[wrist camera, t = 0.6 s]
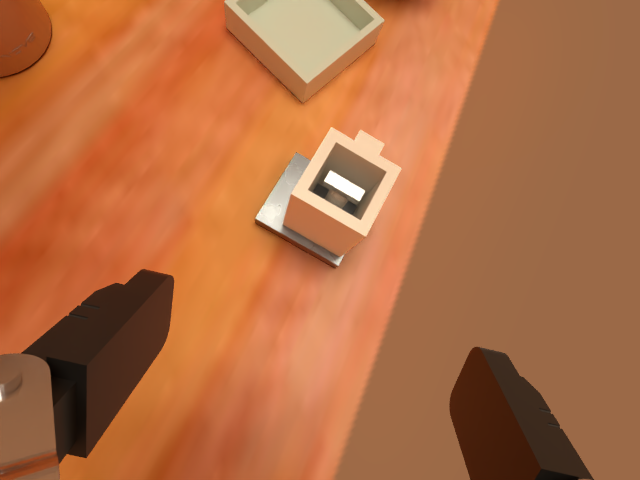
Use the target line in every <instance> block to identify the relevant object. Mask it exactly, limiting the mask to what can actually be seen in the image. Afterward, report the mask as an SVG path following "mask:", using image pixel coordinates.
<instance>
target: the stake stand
mask: <svg viewBox="0 0 640 480" xmlns="http://www.w3.org/2000/svg"><path fill="white" fill-rule="evenodd" d="M310 161H311V160H309V159H307V158H305V157H304V156H302V155H300V154H298V153H297V152H296V153H295V155H294V157H293V158H292V160H291V162H290V163H289V165H288V166H287V168H286V170H285V171H284V173H283V174H282V176H281V178H280V179H279V181H278V182H277V184H276V186H275V187H274V189H273V191H272V192H271V194H270V195H269V197H268V199H267V200H266V202H265V203H264V205H263V207H262V208H261V210H260V211H259V213H258V215H257V216H256V218H255V223H257V224H258V225H260V226H262V227H264V228H265V229H267V230H269V231H271V232H272V233H274V234H276V235H278V236H279V237H281V238H283V239H285V240H286V241H288V242H290V243H292V244H293V245H295V246H297V247H299V248H300V249H302V250H304V251H306V252H307V253H309V254H311V255H313V256H314V257H316V258H318V259H320V260H321V261H323V262H325V263H327V264H328V265H330V266H332V267H334V268H336V267H337V266H339V264H340V262H341V260H342V258H343V256H344V255H343V256H341V257H339V256H337V255H335V254H334V253H332V252H330V251H328V250H327V249H325V248H323V247H321V246H320V245H318V244H316V243H314V242H313V241H311V240H309V239H307V238H306V237H304V236H302V235H300V234H299V233H297V232H295V231H293V230H292V229H290V228H288V227H286V226H285V225H283V221H284V217H285V214H286V210H287V206H288V203H289V199H290V195H291V193H292V191H293V190H294V188H295V186H296V185H297V183H298V181H299V180H300V178H301V176H302V175H303V173H304V171H305V170H306V168H307V166H308V165H309V163H310ZM322 185H323V186H322ZM322 185H320V184H319V183H318V184H317V185H316V187H315V189H314V190H313V192H312V193H314V194H316V195H317V196H319V197H321V198H323V199H324V200H326V201H328V202H330V203H331V204H333V205H335V206H337V207H338V208H340V209H342V210H343V211H345V212H347V213H349V214H350V215H353V213H354V212H355V210H356V208H357V204H358V202H359V201H360V199H361V197H362V196H363V194H364V192H365V190H363V189H362V188H360V187H358V186H356V185H355V184H353V183H351V182H349V181H348V180H346V179H344V178H343V177H341V176H339V175H337V174H336V173H334V172H332V171H331V170H330V172H329V173H328V175H327V177H326V179H325V180H324V182H323V184H322ZM324 186H325V187H324ZM326 187H327V188H329V189H330V190H329V189H327V188H326ZM348 200H349V201H348ZM350 201H351V202H353V203H355V204H356V205H355V204H353V203H351V202H350Z"/></svg>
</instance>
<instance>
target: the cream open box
mask: <svg viewBox="0 0 640 480" xmlns="http://www.w3.org/2000/svg"><path fill="white" fill-rule="evenodd" d="M384 145H385V144H384V143H382V142H381V141H379V140H377V139H376V138H374V137H372V136H370V135H369V134H367V133H365V132H364V131H362V130H360V131H359V133H358V135H357V136H356V138H355V140H353V139H351V138H349V137H348V136H346V135H344V134H342V133H341V132H339V131H337V130H336V129H334V128H332V127H331V128H330V130H329V132H328V133H327V135H326V137H325V138H324V140H323V142H322V143H321V145H320V146H319V148H318V150H317V151H316V153H315V155H314V156H313V158H312V160H311V161H310V163H309V165H308V166H307V168H306V170H305V171H304V173H303V175H302V176H301V178H300V180H299V181H298V183H297V185H296V186H295V188H294V190H293V191H292V193H291V195H290V199H289V203H288V206H287V210H286V214H285V217H284V221H283V225H285V226H286V227H288V228H290V229H292V230H293V231H295V232H297V233H299V234H300V235H302V236H304V237H306V238H307V239H309V240H311V241H313V242H314V243H316V244H318V245H320V246H321V247H323V248H325V249H327V250H328V251H330V252H332V253H334V254H335V255H337V256H339V257H341V256H343V255H344V254H345V253H346V252H348V251H349V250H350V249H351V248H353V247H354V246H355V245H356V244H358V243H359V242H360V241H361V240H363V239H364V238H365V237H366V236H367V234H368V232H369V230H370V228H371V226H372V224H373V222H374V220H375V219H376V217H377V215H378V213H379V211H380V209H381V207H382V205H383V203H384V201H385V199H386V198H387V196H388V194H389V192H390V190H391V188H392V186H393V184H394V182H395V180H396V179H397V177H398V175H399V173H400V171H401V169H402V168H401V167H399V166H397V165H395V164H394V163H392V162H390V161H389V160H387V159H385V158H383V157H382V156H380V155H379V154H380V152H381V150H382V148H383V147H384ZM330 170H331V171H332V172H334V173H336V174H337V175H339V176H341V177H343V178H344V179H346V180H348V181H349V182H351V183H353V184H355V185H356V186H358V187H360V188H362V189H363V190H365V192H364V194H363V196H362V197H361V199H360V201H359V202H358V204H357V208H356V210H355V212H354V213H353V215H350V214H349V213H347V212H345V211H343V210H342V209H340V208H338V207H337V206H335V205H333V204H331V203H330V202H328V201H326V200H324V199H323V198H321V197H319V196H317V195H316V194H314V193H312V192H313V190H314V189H315V187H316V185H317V184H318V183H319V184H320V185H322V184H323V182H324V180H325V179H326V177H327V175H328V173H329V172H330ZM322 186H323V185H322ZM324 187H325V186H324ZM326 188H327V187H326ZM327 189H329V188H327ZM329 190H330V189H329ZM348 201H349V200H348ZM350 202H351V201H350ZM351 203H353V202H351ZM353 204H355V203H353ZM355 205H356V204H355Z"/></svg>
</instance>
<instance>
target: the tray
mask: <svg viewBox="0 0 640 480" xmlns="http://www.w3.org/2000/svg"><path fill="white" fill-rule="evenodd" d="M224 7H225V18H226V28H227V29H228V30H229V31H230V32H231V33H232V34H233V35H234V36H235V37H236V38H237V39H238V40H239V41H240V42H241V43H242V44H243V45H244V46H245V47H246V48H247V49H248V50H249V51H250V52H251V53H252V54H253V55H254V56H255V57H256V58H257V59H258V60H259V61H260V62H261V63H262V64H263V65H264V66H265V67H266V68H267V69H268V70H269V71H270V72H271V73H272V74H273V75H274V76H275V77H276V78H277V79H278V80H279V81H280V82H281V83H282V84H283V85H284V86H285V87H286V88H288V89H289V90H290V91H291V92H292V93H293V94H294V95H295V96H296V97H297V98H298V99H299V100H300V101H301V102H302V103H304V102H305V101H306V100H308V99H309V98H310V97H311V96H312V95H314V94H315V93H316V92H317V91H318V90H320V89H321V88H322V87H323V86H325V85H326V84H327V83H328V82H329V81H331V80H332V79H333V78H334V77H335V76H337V75H338V74H339V73H340V72H341V71H343V70H344V69H345V68H346V67H347V66H349V65H350V64H351V63H352V62H353V61H355V60H356V59H357V58H358V57H359V56H361V55H362V54H363V53H364V52H365V51H367V50H368V49H369V48H370V47H372V46H373V45H374V44H375V42H376V40H377V37H378V35H379V33H380V30H381V28H382V26H383V23H384V21H385V20H384V19H383V18H382V17H381V16H380V15H379V14H378V13H377V12H376V11H374V10H373V9H372V8H371V7H370V6H369V5H368V4H367V3H366V2H365V1H364V0H226V1H224Z"/></svg>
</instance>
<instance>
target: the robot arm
mask: <svg viewBox="0 0 640 480" xmlns="http://www.w3.org/2000/svg"><path fill="white" fill-rule="evenodd" d="M50 37H51V22H50V19H49V16H48V13H47V12H46V10H45V9H44V7H43V6H42V4H41V2H40V1H39V0H0V77H3V76H8V75H11V74H14V73H18V72H20V71H22V70H24V69H26V68H28V67H29V66H31V65H32V64H33V63H34V62H36V61H37V60H38V59H39V58H40V57H41V56H42V54H43V53H44V52H45V50H46V48H47V46H48V44H49V42H50ZM173 289H174V278H173V276H171V275H167V274H163V273H158V272H154V271H150V270H145V269H142V270H140V271H139V272H138V273H137V274H136V275H135V276H134V277H133V278H132V279H130V280H129V281H128V282H127V283H126V284H125V285H123V284H119V283H115V284H112V285H110V286H107V287H105V288H102V289H100V290H97V291H95V292H94V293H93V294H92V295H90V296H89V297H88V298H87V299H86V300H85V301H83V302H82V303H81V306H77V307H76V308H75V309H74V310H73V311H71V312H70V313H69V316H65V317H64V318H63V319H62V320H61V321H59V322H58V323H57V324H56V325H55V326H53V327H52V328H51V329H50V330H49V331H47V332H46V333H45V334H44V335H43V336H41V337H40V338H39V339H38V340H37V341H35V342H34V343H33V344H32V345H31V346H29V347H28V348H27V349H26V350H25V351H23V352H22V353H21V354H19V353H18V354H4V355H0V480H60V474H59V463H60V462H61V461H62V459H63V458H64V457H65V455H66V454H69V455H74V456H79V457H83V458H87V456H88V455H89V453H90V452H91V451H92V449H93V448H94V446H95V445H96V443H97V442H98V440H99V439H100V438H101V436H102V435H103V433H104V432H105V430H106V429H107V427H108V426H109V425H110V423H111V422H112V420H113V419H114V417H115V416H116V414H117V413H118V412H119V410H120V409H121V407H122V406H123V404H124V403H125V401H126V400H127V399H128V397H129V396H130V394H131V393H132V391H133V390H134V388H135V387H136V386H137V384H138V383H139V381H140V380H141V378H142V377H143V375H144V374H145V372H146V371H147V370H148V368H149V367H150V365H151V364H152V362H153V361H154V359H155V358H156V357H157V355H158V354H159V352H160V351H161V349H162V347H163V346H164V343H165V341H166V338H167V335H168V332H169V327H170V319H171V309H172V299H173ZM550 412H551V411H550V409H549V407H548V406H547V404H546V402H545V401H544V399H543V397H542V396H541V394H540V393H539V392H538V391H537V390H536V389H535V388H534V387H533V386H532V385H531V384H530V383H529V382H528V381H527V380H526V379H525V378H523V377H521V376H519V374H518V372H517V370H516V369H515V367H514V365H513V364H512V362H511V360H510V359H509V357H508V356H507V355H506V354H505V353H502V352H497V351H493V350H489V349H485V348H480V347H474V348H473V349H472V350H471V351H470V353H469V355H468V357H467V359H466V362H465V364H464V366H463V368H462V370H461V373H460V375H459V377H458V379H457V381H456V384H455V386H454V388H453V390H452V393H451V397H450V415H451V419H452V422H453V425H454V428H455V432H456V435H457V438H458V441H459V444H460V448H461V451H462V454H463V457H464V460H465V464H466V467H467V470H468V473H469V476H470V480H594V479H593V478H592V476H591V474H590V473H589V471H588V470H587V468H586V467H585V465H584V463H583V462H582V460H581V458H580V457H579V455H578V454H577V452H576V450H575V449H574V448H573V446H572V444H571V442H570V441H569V439H568V438H567V436H566V434H565V433H564V431H563V430H562V429H560V425H559V423H558V421H557V420H556V418H555V417H554V415H553V414H551V413H550Z"/></svg>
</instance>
